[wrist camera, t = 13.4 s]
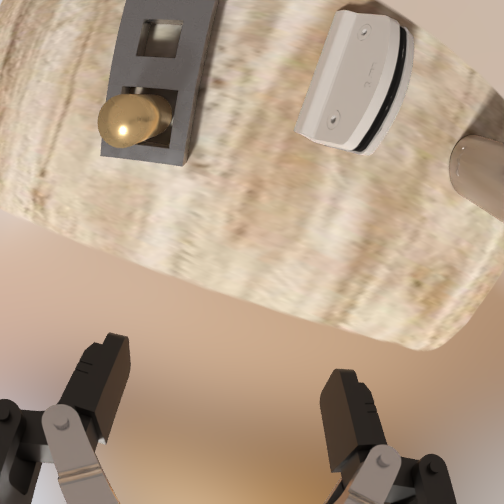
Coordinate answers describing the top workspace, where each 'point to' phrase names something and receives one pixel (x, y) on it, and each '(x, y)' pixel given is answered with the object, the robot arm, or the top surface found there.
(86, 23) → the top surface
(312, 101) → the grey curved housing
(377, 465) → the robot arm
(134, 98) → the cylinder
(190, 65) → the grey flat block
